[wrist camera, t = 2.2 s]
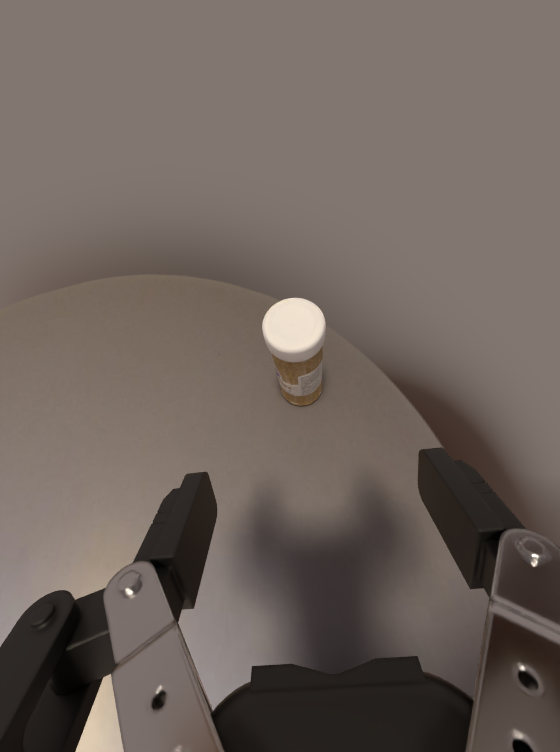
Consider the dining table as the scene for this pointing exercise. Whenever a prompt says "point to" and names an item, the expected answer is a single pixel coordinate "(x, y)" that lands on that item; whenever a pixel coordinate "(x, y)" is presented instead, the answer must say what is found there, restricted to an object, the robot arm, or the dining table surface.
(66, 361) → the dining table surface
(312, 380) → the sprinkles bottle
